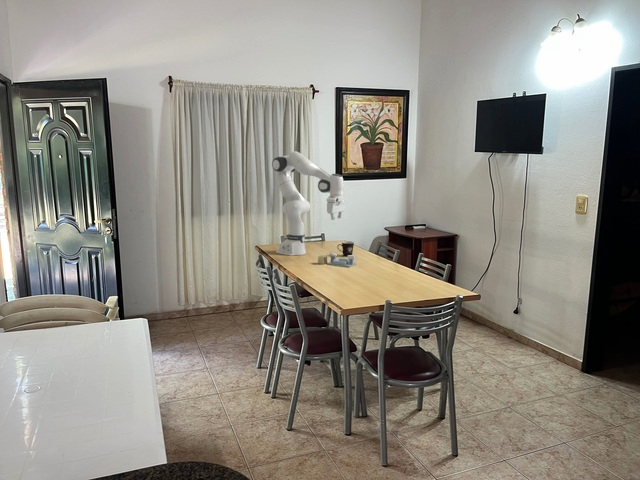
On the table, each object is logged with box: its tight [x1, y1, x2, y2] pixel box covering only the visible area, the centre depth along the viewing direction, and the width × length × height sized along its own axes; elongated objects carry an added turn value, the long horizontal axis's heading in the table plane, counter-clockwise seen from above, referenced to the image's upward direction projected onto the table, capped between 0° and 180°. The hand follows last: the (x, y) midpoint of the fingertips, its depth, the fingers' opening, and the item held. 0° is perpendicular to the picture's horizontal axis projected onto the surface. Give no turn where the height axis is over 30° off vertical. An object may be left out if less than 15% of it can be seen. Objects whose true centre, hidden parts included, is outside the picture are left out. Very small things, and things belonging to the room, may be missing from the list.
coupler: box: [317, 255, 328, 265], centre depth 332 cm, size 4×4×5 cm
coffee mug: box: [336, 240, 355, 258], centre depth 357 cm, size 12×9×10 cm
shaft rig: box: [326, 252, 357, 268], centre depth 330 cm, size 18×11×7 cm, turn 61°
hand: (336, 219), depth 334 cm, fingers open, 8 cm apart
